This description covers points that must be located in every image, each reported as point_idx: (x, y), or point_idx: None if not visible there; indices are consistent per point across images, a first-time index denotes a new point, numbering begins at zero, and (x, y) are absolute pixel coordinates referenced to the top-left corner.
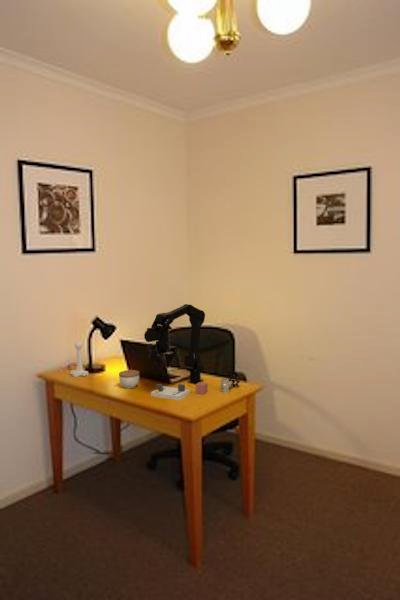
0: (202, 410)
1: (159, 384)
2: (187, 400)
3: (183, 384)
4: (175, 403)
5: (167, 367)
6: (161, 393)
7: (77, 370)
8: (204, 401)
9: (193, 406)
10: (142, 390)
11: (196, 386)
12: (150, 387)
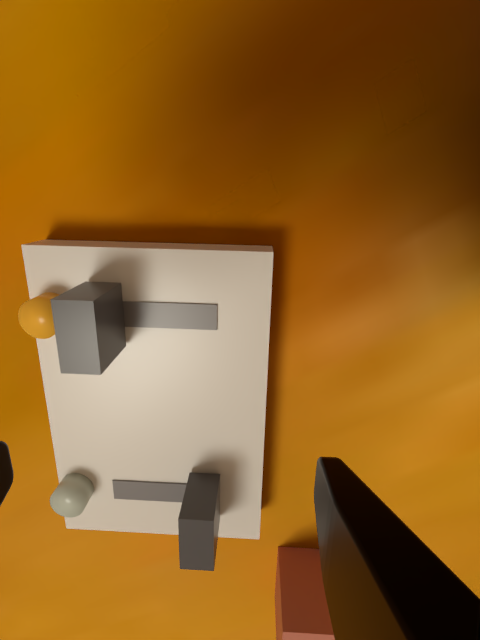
0: None
1: (83, 332)
2: (114, 548)
3: (211, 559)
4: (15, 505)
5: (317, 473)
6: (50, 368)
7: None
8: (152, 636)
9: (35, 613)
10: (160, 13)
11: (281, 615)
12: (308, 43)
